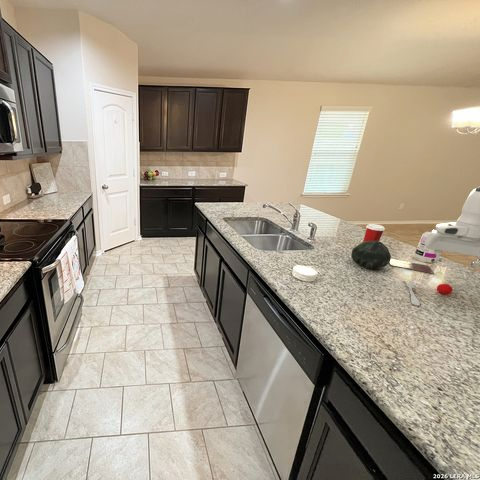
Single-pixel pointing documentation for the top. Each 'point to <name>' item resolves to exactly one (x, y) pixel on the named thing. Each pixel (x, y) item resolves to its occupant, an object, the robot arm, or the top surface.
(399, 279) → the top surface
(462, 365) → the top surface
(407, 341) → the top surface
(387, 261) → the squash
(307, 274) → the coaster
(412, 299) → the fork
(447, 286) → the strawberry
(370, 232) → the coffee cup
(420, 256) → the supplement can
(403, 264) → the serving board
